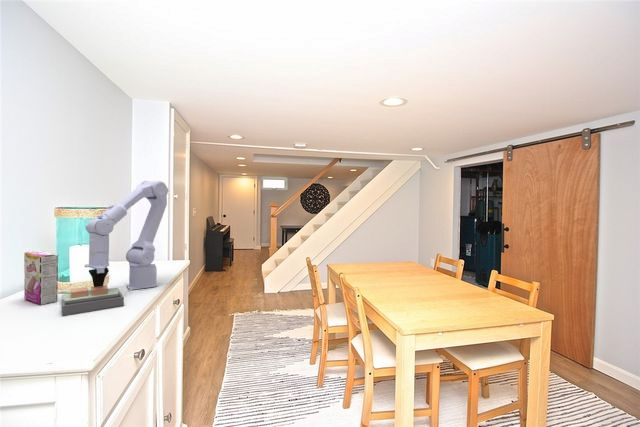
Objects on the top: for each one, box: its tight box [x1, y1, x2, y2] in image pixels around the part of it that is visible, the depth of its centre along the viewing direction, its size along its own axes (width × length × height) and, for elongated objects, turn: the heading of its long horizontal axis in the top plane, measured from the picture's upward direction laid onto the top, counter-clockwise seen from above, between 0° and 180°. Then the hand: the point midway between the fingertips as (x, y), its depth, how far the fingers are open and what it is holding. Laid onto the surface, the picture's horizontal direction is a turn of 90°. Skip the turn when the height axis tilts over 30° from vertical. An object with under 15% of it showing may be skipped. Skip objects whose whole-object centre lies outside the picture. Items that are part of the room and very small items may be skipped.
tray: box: [61, 290, 125, 317], centre depth 96 cm, size 16×8×3 cm, turn 132°
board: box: [61, 287, 121, 303], centre depth 103 cm, size 16×8×2 cm, turn 132°
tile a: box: [90, 284, 109, 296], centre depth 104 cm, size 4×4×2 cm
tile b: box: [69, 286, 89, 298], centre depth 101 cm, size 4×4×2 cm
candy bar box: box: [23, 250, 59, 306], centre depth 100 cm, size 11×5×16 cm, turn 65°
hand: (98, 289), depth 106 cm, fingers closed
